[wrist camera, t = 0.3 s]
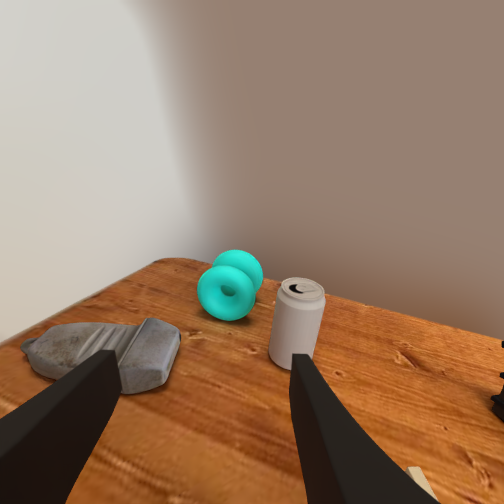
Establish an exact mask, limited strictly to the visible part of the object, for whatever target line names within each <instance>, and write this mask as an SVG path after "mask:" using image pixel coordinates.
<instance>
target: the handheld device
mask: <svg viewBox="0 0 504 504" xmlns="http://www.w3.org/2000/svg"><path fill="white" fill-rule="evenodd" d="M180 341H181V334H180V331H179V329H178V328H176V327H175V326H173V325H171V324H169V323H166V322H164V321H161V320H159V319H156V318H146V319H145V320H144V321H143V323H142V324H141V325H138V326H134V325H122V324H110V323H70V324H62V325H56V326H53V327H51V328H50V329H48V330H47V331H46V332H45V333H44V334H43V335H42V336H41V337H39V338H30V339H27V340H25V341H24V342H23V343H22V345H21V347H20V348H21V351H22V352H23V353H25V354H27V356H28V360H29V362H30V364H31V366H32V368H33V370H35V371H36V372H37V373H39V374H41V375H43V376H45V377H48V378H52V379H56V380H58V379H60V378H61V377H63V376H64V375H65V374H67V373H68V372H69V371H71V370H72V369H74V368H75V367H76V366H78V365H79V364H80V363H82V362H83V361H84V360H86V359H87V358H89V357H90V356H91V355H93V354H94V353H96V352H97V351H99V350H115V352H116V358H117V363H118V368H119V374H120V379H121V384H122V391H121V393H123V394H134V393H139V392H142V391H147V390H150V389H153V388H155V387H158V386H160V385H162V384H164V383H165V381H166V380H167V378H168V375H169V372H170V369H171V366H172V364H173V361H174V359H175V356H176V354H177V351H178V348H179V345H180Z"/></svg>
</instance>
